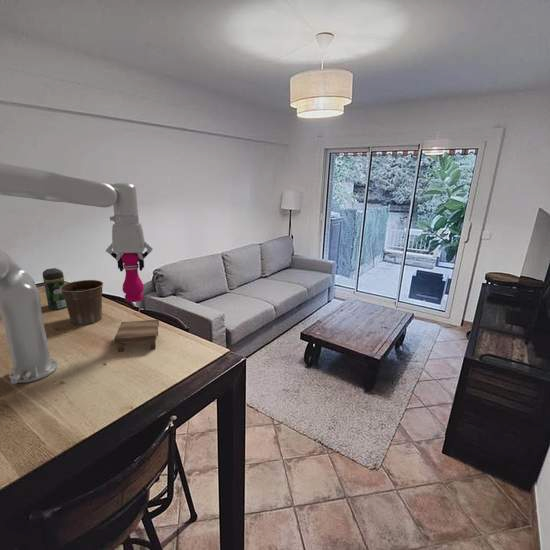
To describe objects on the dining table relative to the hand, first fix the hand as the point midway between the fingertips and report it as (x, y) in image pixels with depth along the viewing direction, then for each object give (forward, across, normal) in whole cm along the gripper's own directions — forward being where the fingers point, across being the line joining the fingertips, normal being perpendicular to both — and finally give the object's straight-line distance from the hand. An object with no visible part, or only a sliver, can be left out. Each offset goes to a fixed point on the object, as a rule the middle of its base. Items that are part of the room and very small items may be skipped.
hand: (131, 269), depth 116 cm
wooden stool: (+30, 0, 0) cm, 30 cm away
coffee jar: (+30, -42, +44) cm, 67 cm away
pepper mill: (+12, 0, 0) cm, 12 cm away
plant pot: (+30, -25, +26) cm, 47 cm away
